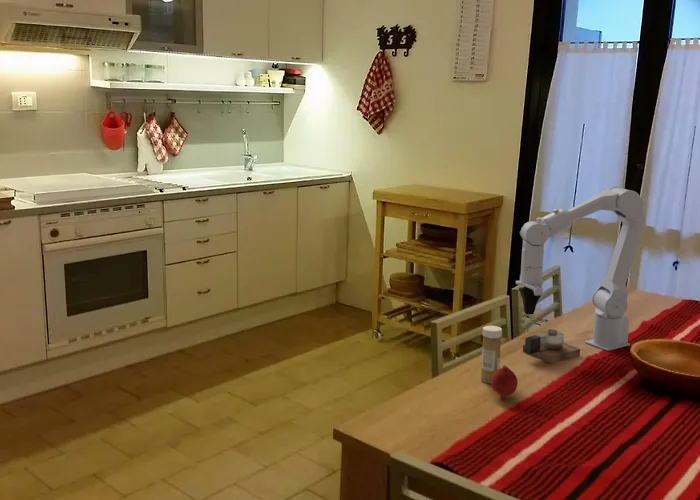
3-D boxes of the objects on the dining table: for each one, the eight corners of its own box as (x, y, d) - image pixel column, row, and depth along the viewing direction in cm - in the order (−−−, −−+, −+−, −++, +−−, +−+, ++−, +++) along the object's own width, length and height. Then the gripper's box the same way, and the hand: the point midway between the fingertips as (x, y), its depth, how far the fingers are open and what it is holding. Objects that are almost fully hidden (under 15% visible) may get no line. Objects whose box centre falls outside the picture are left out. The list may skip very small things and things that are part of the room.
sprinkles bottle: (503, 381, 168) (506, 328, 165) (489, 385, 166) (492, 332, 163) (489, 375, 172) (492, 323, 169) (476, 379, 169) (478, 326, 167)
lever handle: (549, 340, 191) (550, 325, 190) (567, 346, 186) (569, 331, 185) (518, 350, 183) (519, 334, 182) (536, 356, 178) (537, 340, 178)
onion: (517, 394, 161) (519, 361, 159) (515, 404, 156) (517, 370, 154) (492, 390, 163) (494, 358, 161) (488, 400, 158) (490, 367, 156)
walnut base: (551, 345, 194) (551, 337, 194) (579, 356, 186) (580, 348, 185) (522, 351, 189) (523, 344, 188) (550, 363, 180) (551, 355, 180)
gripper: (510, 260, 196) (507, 306, 198) (525, 272, 181) (522, 322, 184) (534, 259, 196) (532, 306, 199) (551, 272, 182) (548, 321, 185)
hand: (529, 313), depth 192 cm, fingers closed
